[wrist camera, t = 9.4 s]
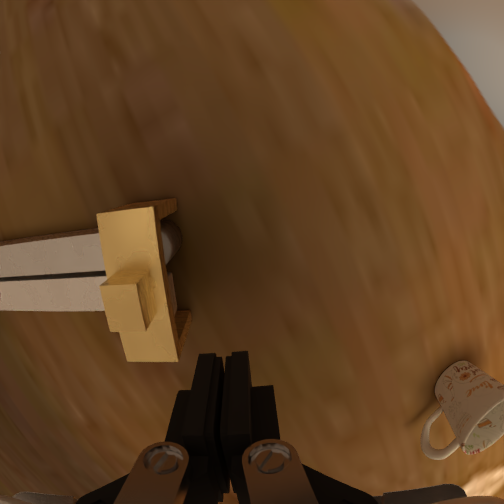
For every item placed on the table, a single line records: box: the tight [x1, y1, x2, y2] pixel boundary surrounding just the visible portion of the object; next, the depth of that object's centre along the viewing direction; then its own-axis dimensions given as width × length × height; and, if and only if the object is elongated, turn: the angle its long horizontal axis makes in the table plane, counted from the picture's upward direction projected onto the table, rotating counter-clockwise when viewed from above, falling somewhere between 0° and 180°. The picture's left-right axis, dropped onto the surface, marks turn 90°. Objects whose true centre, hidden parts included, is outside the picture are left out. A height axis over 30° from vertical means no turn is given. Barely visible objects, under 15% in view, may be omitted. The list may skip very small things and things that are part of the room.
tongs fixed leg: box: [0, 220, 182, 277], centre depth 24 cm, size 3×26×5 cm, turn 94°
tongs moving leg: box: [0, 270, 178, 315], centre depth 24 cm, size 6×25×5 cm, turn 94°
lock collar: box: [96, 198, 192, 362], centre depth 22 cm, size 11×4×10 cm, turn 4°
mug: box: [421, 361, 504, 460], centre depth 27 cm, size 8×13×10 cm, turn 147°
